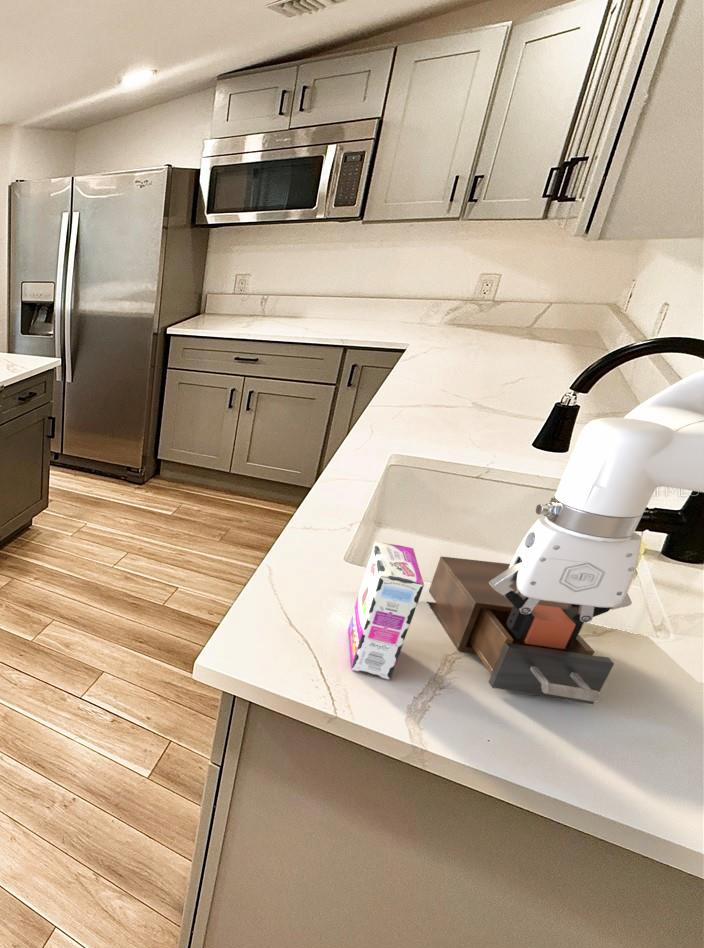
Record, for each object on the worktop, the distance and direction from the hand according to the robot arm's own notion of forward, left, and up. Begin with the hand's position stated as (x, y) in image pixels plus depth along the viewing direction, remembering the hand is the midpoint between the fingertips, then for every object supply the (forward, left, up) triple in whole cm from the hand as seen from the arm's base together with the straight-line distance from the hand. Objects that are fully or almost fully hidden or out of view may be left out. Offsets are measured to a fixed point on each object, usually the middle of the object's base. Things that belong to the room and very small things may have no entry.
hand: (538, 635), depth 83 cm
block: (0, 0, 0) cm, 0 cm away
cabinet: (0, -11, -7) cm, 13 cm away
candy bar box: (+18, +1, -7) cm, 19 cm away
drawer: (0, +1, -6) cm, 6 cm away
